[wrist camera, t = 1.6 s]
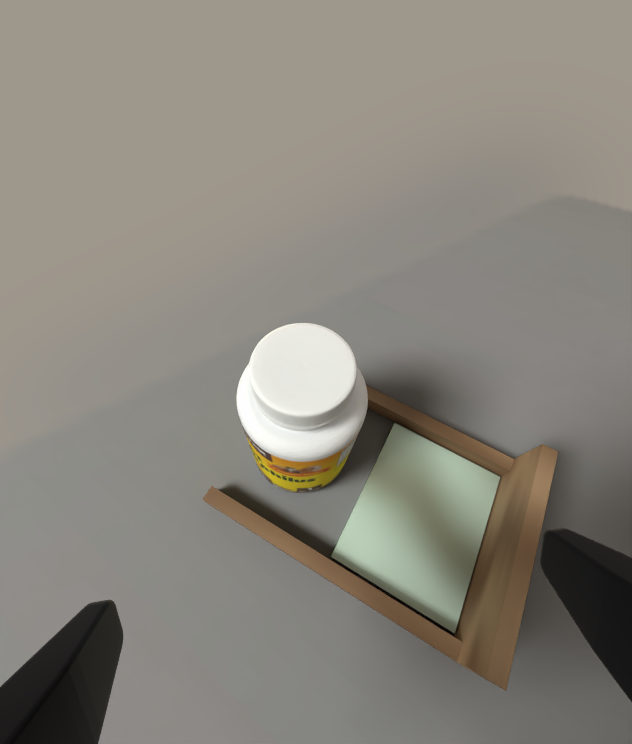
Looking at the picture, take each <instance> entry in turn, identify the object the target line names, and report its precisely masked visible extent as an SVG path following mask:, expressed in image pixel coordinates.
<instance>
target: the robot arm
mask: <svg viewBox="0 0 632 744" xmlns="http://www.w3.org/2000/svg"><path fill="white" fill-rule="evenodd" d="M540 562H541V567H542V570H543V572H544V574H545V576H546V577H547V579H548V580H549V582H550V583H551V585H552V587H553V588H554V590H555V591H556V593H557V594H558V596H559V598H560V599H561V601H562V602H563V604H564V606H565V607H566V609H567V610H568V612H569V613H570V615H571V617H572V618H573V620H574V621H575V623H576V624H577V626H578V628H579V629H580V631H581V632H582V634H583V636H584V637H585V639H586V640H587V642H588V643H589V645H590V646H591V647H592V649H593V650H594V652H595V653H596V655H597V656H598V657H599V659H600V660H601V662H602V663H603V664H604V666H605V667H606V668H607V670H608V671H609V672H610V674H611V675H612V676H613V678H614V679H615V680H616V682H617V683H618V684H619V686H620V687H621V688H622V690H623V691H624V692H625V694H626V695H627V697H628V698H629V699H630V701H631V702H632V558H631V557H628V556H626V555H624V554H622V553H620V552H617V551H615V550H613V549H611V548H608V547H606V546H604V545H602V544H599V543H597V542H595V541H593V540H591V539H588V538H586V537H584V536H582V535H579V534H577V533H575V532H573V531H570V530H568V529H565V528H560V529H553V530H548V531H546V532H545V533H544V536H543V543H542V550H541V558H540ZM122 644H123V630H122V626H121V622H120V619H119V616H118V612H117V609H116V605H115V603H114V602H113V601H112V600H105V601H99V602H92V603H90V604H88V605H87V606H85V607H84V608H83V609H82V610H81V611H80V612H79V613H78V614H77V615H76V616H75V617H74V618H73V619H72V620H70V621H69V622H68V623H67V624H66V625H65V626H64V627H63V628H62V629H61V630H60V631H59V632H58V633H57V634H56V635H55V636H54V637H52V638H51V639H50V640H49V641H48V642H47V643H46V644H45V645H44V646H43V647H42V648H41V649H40V650H39V651H38V652H37V653H36V654H35V655H33V656H32V657H31V658H30V659H29V660H28V661H27V662H26V663H25V664H24V665H23V666H22V667H21V668H20V669H19V670H18V671H17V672H15V673H14V674H13V675H12V676H11V677H10V678H9V679H8V680H7V681H6V682H5V683H4V684H3V685H2V686H1V687H0V744H98V742H99V738H100V734H101V730H102V726H103V722H104V718H105V714H106V710H107V706H108V702H109V698H110V694H111V689H112V685H113V681H114V677H115V673H116V669H117V665H118V661H119V657H120V653H121V648H122Z"/></svg>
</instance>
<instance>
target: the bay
mask: <svg viewBox="0 0 632 744" xmlns="http://www.w3.org/2000/svg"><path fill="white" fill-rule="evenodd" d="M366 388H367V394H368V406H367V408H369V409H371V410H372V411H374V412H376V413H378V414H380V415H382V416H384V417H386V418H388V419H390V420H392V421H394V422H396V423H398V424H400V425H402V426H404V427H406V428H408V429H410V430H411V431H410V430H408V429H406V428H404V427H402V426H400V425H398V424H396V423H394V425H393V427H392V429H391V431H390V433H389V436H388V438H387V440H386V442H385V444H384V446H383V448H382V450H381V452H380V454H379V457H378V459H377V461H376V463H375V465H374V467H373V469H372V471H371V473H370V475H369V478H368V480H367V482H366V484H365V486H364V488H363V490H362V492H361V494H360V496H359V499H358V501H357V503H356V505H355V507H354V509H353V511H352V513H351V515H350V517H349V520H348V522H347V524H346V526H345V528H344V530H343V532H342V534H341V536H340V538H339V541H338V543H337V545H336V547H335V549H334V551H333V553H332V555H331V558H333V559H335V560H336V561H338V562H340V563H341V564H343V565H344V566H346V567H348V568H349V569H351V570H352V571H354V572H356V573H357V574H359V575H360V576H362V577H364V578H365V579H367V580H368V581H370V582H372V583H373V584H375V585H377V586H378V587H380V588H381V589H383V590H385V591H386V592H388V593H389V594H391V595H393V596H394V597H396V598H397V599H399V600H401V601H402V602H404V603H405V604H407V605H409V606H410V607H412V608H414V609H415V610H417V611H418V612H420V613H422V614H423V615H425V616H426V617H428V618H430V619H431V620H433V621H434V622H436V623H438V624H439V625H441V626H443V627H444V628H446V629H447V630H449V631H451V632H452V633H454V636H452V635H450V634H448V633H447V632H445V631H444V630H442V629H440V628H439V627H437V626H436V625H434V624H432V623H431V622H429V621H428V620H426V619H424V618H423V617H421V616H420V615H418V614H416V613H415V612H413V611H412V610H410V609H408V608H407V607H405V606H404V605H402V604H400V603H399V602H397V601H396V600H394V599H392V598H391V597H389V596H388V595H386V594H384V593H383V592H381V591H379V590H378V589H376V588H375V587H373V586H371V585H370V584H368V583H367V582H365V581H363V580H362V579H360V578H359V577H357V576H355V575H354V574H352V573H351V572H349V571H347V570H346V569H344V568H343V567H341V566H339V565H338V564H336V563H335V562H333V561H331V560H330V559H328V558H327V557H325V556H323V555H322V554H320V553H319V552H317V551H315V550H314V549H312V548H311V547H309V546H307V545H306V544H304V543H303V542H301V541H299V540H298V539H296V538H294V537H293V536H291V535H290V534H288V533H286V532H285V531H283V530H282V529H280V528H278V527H277V526H275V525H274V524H272V523H270V522H269V521H267V520H266V519H264V518H262V517H261V516H259V515H258V514H256V513H254V512H253V511H251V510H250V509H248V508H246V507H245V506H243V505H242V504H240V503H238V502H237V501H235V500H234V499H232V498H230V497H229V496H227V495H226V494H224V493H222V492H221V491H219V490H217V489H216V488H214V487H213V486H211V488H210V489H209V491H208V492H207V494H206V495H205V497H204V498H203V500H204V501H205V502H207V503H208V504H210V505H211V506H213V507H214V508H216V509H217V510H219V511H221V512H222V513H224V514H225V515H227V516H228V517H230V518H232V519H233V520H235V521H236V522H238V523H239V524H241V525H243V526H244V527H246V528H247V529H249V530H250V531H252V532H254V533H255V534H257V535H258V536H260V537H261V538H263V539H265V540H266V541H268V542H269V543H271V544H272V545H274V546H276V547H277V548H279V549H280V550H282V551H283V552H285V553H286V554H288V555H290V556H291V557H293V558H294V559H296V560H297V561H299V562H301V563H302V564H304V565H305V566H307V567H308V568H310V569H312V570H313V571H315V572H316V573H318V574H319V575H321V576H323V577H324V578H326V579H327V580H329V581H330V582H332V583H334V584H335V585H337V586H338V587H340V588H341V589H343V590H345V591H346V592H348V593H349V594H351V595H352V596H354V597H356V598H357V599H359V600H360V601H362V602H363V603H365V604H367V605H368V606H370V607H371V608H373V609H374V610H376V611H377V612H379V613H381V614H382V615H384V616H385V617H387V618H388V619H390V620H392V621H393V622H395V623H396V624H398V625H399V626H401V627H403V628H404V629H406V630H407V631H409V632H410V633H412V634H414V635H415V636H417V637H418V638H420V639H421V640H423V641H425V642H426V643H428V644H429V645H431V646H432V647H434V648H436V649H437V650H439V651H440V652H442V653H443V654H445V655H447V656H448V657H450V658H451V659H453V660H454V661H456V662H457V663H459V664H461V665H462V666H464V667H466V668H467V669H469V670H471V671H473V672H474V673H476V674H478V675H480V676H481V677H483V678H485V679H487V680H488V681H490V682H492V683H494V684H495V685H497V686H499V687H500V688H502V689H504V690H506V689H507V684H508V680H509V675H510V671H511V666H512V661H513V657H514V652H515V648H516V643H517V638H518V634H519V629H520V625H521V620H522V616H523V611H524V606H525V602H526V597H527V593H528V588H529V584H530V579H531V574H532V570H533V565H534V561H535V556H536V552H537V547H538V542H539V538H540V533H541V529H542V524H543V520H544V515H545V510H546V506H547V501H548V497H549V492H550V488H551V483H552V478H553V474H554V469H555V465H556V460H557V456H558V451H556V450H554V449H552V448H550V447H547V446H545V445H543V444H542V445H540V446H538V447H536V448H534V449H532V450H530V451H529V452H527V453H525V454H523V455H521V456H519V457H517V458H515V459H513V458H511V457H509V456H507V455H505V454H503V453H501V452H499V451H497V450H495V449H493V448H491V447H489V446H487V445H485V444H483V443H481V442H479V441H477V440H475V439H473V438H471V437H469V436H467V435H465V434H463V433H461V432H459V431H457V430H455V429H453V428H451V427H449V426H447V425H445V424H443V423H441V422H439V421H437V420H435V419H433V418H431V417H429V416H427V415H425V414H423V413H421V412H419V411H417V410H415V409H413V408H411V407H409V406H407V405H405V404H403V403H401V402H399V401H397V400H394V399H392V398H390V397H388V396H386V395H384V394H382V393H380V392H378V391H376V390H374V389H372V388H370V387H368V386H366ZM412 431H413V432H412ZM414 432H415V433H414ZM416 433H417V434H419V435H421V436H423V437H425V438H427V439H429V440H431V441H433V442H435V443H437V444H439V445H441V446H443V447H445V448H447V449H449V450H450V451H449V450H447V449H445V448H443V447H441V446H439V445H437V444H435V443H433V442H431V441H429V440H427V439H425V438H423V437H421V436H419V435H417V434H416ZM451 451H452V452H451ZM453 452H454V453H456V454H458V455H460V456H462V457H464V458H466V459H468V460H470V461H472V462H474V463H476V464H478V465H480V466H482V467H484V468H486V469H488V470H490V471H491V472H490V471H488V470H486V469H484V468H482V467H480V466H478V465H476V464H474V463H472V462H470V461H468V460H466V459H464V458H462V457H460V456H458V455H456V454H454V453H453ZM492 472H493V473H495V474H497V475H499V476H500V477H499V476H497V475H495V474H493V473H492Z"/></svg>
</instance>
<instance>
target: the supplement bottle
mask: <svg viewBox="0 0 632 744" xmlns="http://www.w3.org/2000/svg"><path fill="white" fill-rule="evenodd" d="M367 406H368V394H367V388H366V384H365V381H364V378H363V376H362V374H361V372H360V370H359V368H358V367H357V365H356V360H355V356H354V354H353V352H352V350H351V348H350V347H349V345H348V344H347V343H346V341H345V340H344V339H343V338H341V337H340V336H339V335H338V334H336V333H335V332H333V331H332V330H330V329H328V328H325V327H323V326H320V325H316V324H310V323H295V324H289V325H286V326H283V327H280V328H277V329H275V330H273V331H272V332H270V333H269V334H267V335H266V336H265V337H264V338H263V339H262V340H261V341H260V342H259V343H258V345H257V346H256V348H255V349H254V351H253V353H252V356H251V359H250V363H249V364H248V366H247V367H246V369H245V370H244V372H243V374H242V376H241V379H240V381H239V385H238V390H237V409H238V414H239V417H240V421H241V424H242V427H243V429H244V431H245V434H246V436H247V439H248V442H249V445H250V447H251V450H252V452H253V455H254V458H255V460H256V463H257V465H258V467H259V469H260V471H261V473H262V474H263V475H264V476H265V478H266V479H267V480H268V481H269V482H270V483H272V484H273V485H274V486H276V487H278V488H280V489H282V490H284V491H287V492H291V493H309V492H314V491H317V490H319V489H322V488H324V487H325V486H327V485H328V484H330V483H331V482H332V481H333V480H334V479H335V478H336V477H337V476H338V474H339V473H340V471H341V470H342V468H343V466H344V464H345V462H346V460H347V458H348V456H349V453H350V451H351V449H352V447H353V445H354V442H355V440H356V438H357V436H358V433H359V431H360V429H361V427H362V425H363V422H364V419H365V416H366V412H367Z"/></svg>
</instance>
